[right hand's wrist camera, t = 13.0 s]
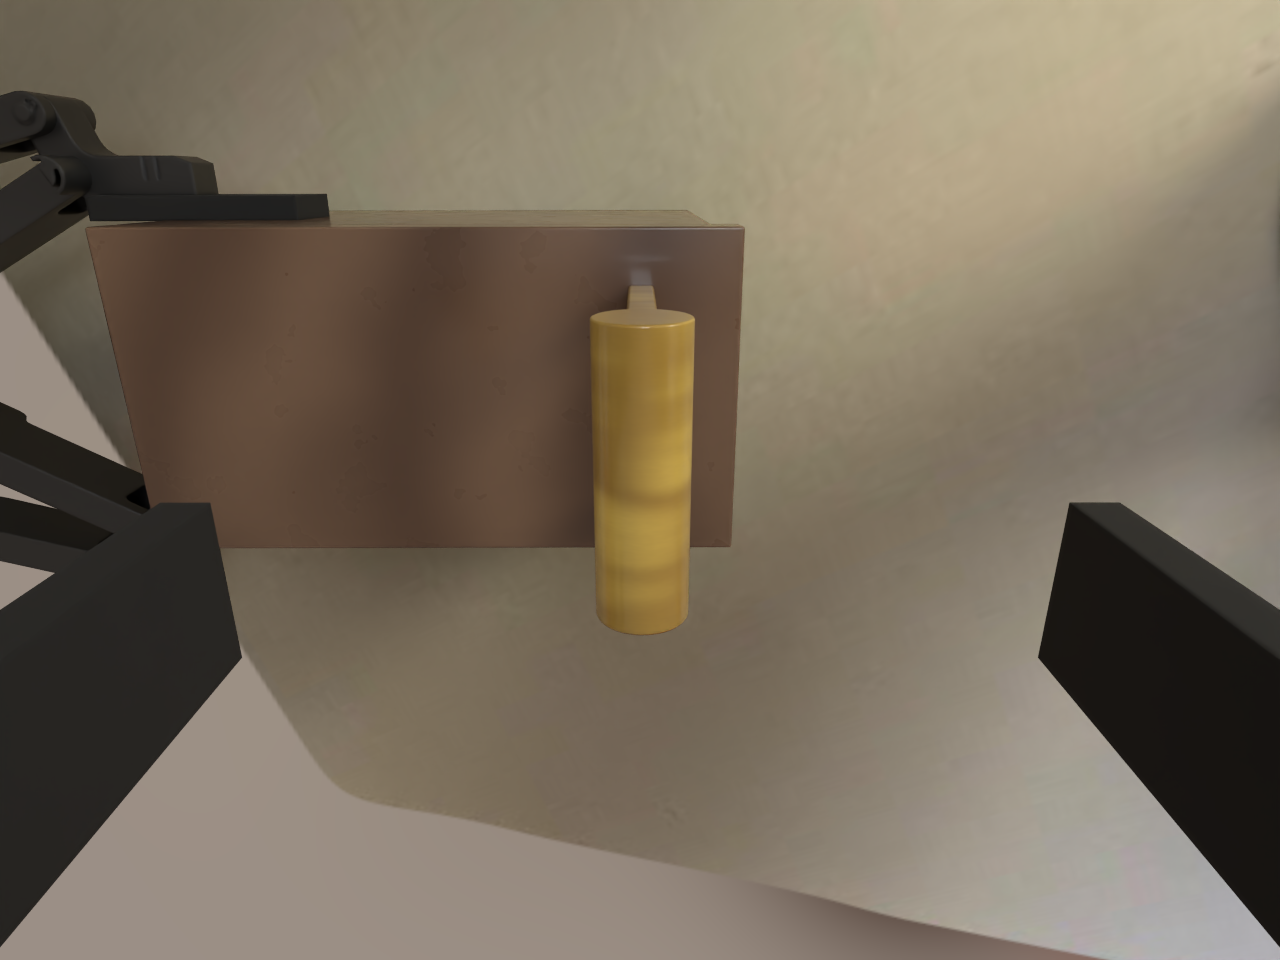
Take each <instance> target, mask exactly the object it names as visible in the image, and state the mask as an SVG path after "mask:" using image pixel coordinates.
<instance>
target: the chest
mask: <svg viewBox="0 0 1280 960" xmlns="http://www.w3.org/2000/svg"><path fill="white" fill-rule="evenodd" d="M329 215H330V217H322V218H313V219H305V220H167V221H155V222H143V223H131V224H120V225H580V224H709V223H707V222H706V221H704V220H703V219H701V218H699V217H698V216H696V215H694V214H693V213H691V212H689V211H687V210H487V211H329Z"/></svg>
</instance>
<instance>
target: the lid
mask: <svg viewBox="0 0 1280 960" xmlns="http://www.w3.org/2000/svg"><path fill="white" fill-rule="evenodd" d="M86 234H87V239H88V243H89V247H90V252H91V256H92V260H93V264H94V269H95V273H96V277H97V281H98V286H99V290H100V294H101V298H102V303H103V307H104V311H105V316H106V320H107V324H108V328H109V333H110V337H111V341H112V345H113V350H114V354H115V358H116V363H117V367H118V371H119V375H120V380H121V384H122V388H123V392H124V397H125V401H126V405H127V409H128V414H129V418H130V422H131V427H132V431H133V435H134V439H135V444H136V448H137V452H138V456H139V461H140V465H141V469H142V473H143V478H144V482H145V486H146V491H147V495H148V499H149V503H150V508H153V507H154V506H156V505H157V504H159V503H211V508H212V513H213V518H214V523H215V528H216V533H217V538H218V543H219V547H220V548H469V547H595V574H596V613H597V616H598V618H599V619H600V621H601V622H602V623H603V624H604V625H605V626H607V627H609V628H611V629H613V630H615V631H618V632H622V633H626V634H632V635H652V634H659V633H663V632H667V631H669V630H672V629H674V628H676V627H678V626H679V625H680V624H682V623H683V622H684V620H685V619H686V617H687V615H688V600H689V557H690V547H730V546H731V538H732V514H733V491H734V468H735V445H736V421H737V398H738V375H739V352H740V328H741V305H742V282H743V259H744V235H745V228H744V227H743V226H740V225H738V224H580V225H108V226H96V227H87V228H86Z"/></svg>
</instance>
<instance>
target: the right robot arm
mask: <svg viewBox="0 0 1280 960" xmlns="http://www.w3.org/2000/svg"><path fill="white" fill-rule="evenodd" d="M241 658H242V655H241V650H240V646H239V641H238V636H237V631H236V626H235V621H234V616H233V611H232V606H231V601H230V596H229V592H228V587H227V582H226V577H225V572H224V567H223V562H222V557H221V552H220V547H219V543H218V538H217V533H216V528H215V523H214V518H213V513H212V508H211V503H159V504H157V505H156V506H154V507H153V508H151V509H150V510H148V511H147V512H145V513H144V514H142V515H141V516H140V517H138V518H137V519H135V520H134V521H132V522H131V523H129V524H128V525H126V526H125V527H123V528H122V529H120V530H119V531H117V532H116V533H114V534H113V535H111V536H110V537H108V538H107V539H105V540H104V541H102V542H101V543H99V544H98V545H96V546H95V547H93V548H92V549H90V550H89V551H87V552H86V553H84V554H83V555H81V556H80V557H78V558H77V559H75V560H74V561H72V562H71V563H69V564H68V565H66V566H65V567H64V568H62V569H61V570H59V571H58V572H56V573H55V574H53V575H52V576H50V577H49V578H47V579H46V580H44V581H43V582H41V583H40V584H38V585H37V586H35V587H34V588H32V589H31V590H29V591H28V592H26V593H25V594H23V595H22V596H20V597H19V598H17V599H16V600H14V601H13V602H11V603H10V604H8V605H7V606H5V607H4V608H2V609H1V610H0V947H1V946H2V944H3V943H4V942H5V941H6V940H7V938H8V937H9V936H10V935H11V934H12V932H13V931H14V930H15V929H16V928H17V926H18V925H19V924H20V923H21V922H22V920H23V919H24V918H25V917H26V916H27V914H28V913H29V912H30V911H31V910H32V908H33V907H34V906H35V905H36V904H37V902H38V901H39V900H40V899H41V898H42V896H43V895H44V894H45V893H46V892H47V890H48V889H49V888H50V887H51V886H52V885H53V883H54V882H55V881H56V880H57V878H58V877H59V876H60V875H61V874H62V872H63V871H64V870H65V869H66V868H67V866H68V865H69V864H70V863H71V862H72V861H73V859H74V858H75V857H76V856H77V855H78V853H79V852H80V851H81V850H82V849H83V847H84V846H85V845H86V844H87V843H88V841H89V840H90V839H91V838H92V837H93V835H94V834H95V833H96V832H97V831H98V829H99V828H100V827H101V826H102V825H103V823H104V822H105V821H106V820H107V819H108V817H109V816H110V815H111V814H112V813H113V811H114V810H115V809H116V808H117V807H118V805H119V804H120V803H121V802H122V801H123V799H124V798H125V797H126V796H127V795H128V793H129V792H130V791H131V790H132V789H133V787H134V786H135V785H136V784H137V783H138V781H139V780H140V779H141V778H142V777H143V775H144V774H145V773H146V772H147V771H148V769H149V768H150V767H151V766H152V765H153V763H154V762H155V761H156V760H157V759H158V757H159V756H160V755H161V754H162V753H163V751H164V750H165V749H166V748H167V747H168V746H169V744H170V743H171V742H172V741H173V740H174V738H175V737H176V736H177V735H178V734H179V732H180V731H181V730H182V729H183V728H184V726H185V725H186V724H187V723H188V722H189V720H190V719H191V718H192V717H193V715H194V714H195V713H196V712H197V711H198V710H199V708H200V707H201V706H202V705H203V703H204V702H205V701H206V700H207V699H208V698H209V696H210V695H211V694H212V693H213V692H214V690H215V689H216V688H217V687H218V686H219V684H220V683H221V682H222V681H223V680H224V678H225V677H226V676H227V675H228V674H229V672H230V671H231V670H232V669H233V668H234V666H235V665H236V664H237V663H238V662H239V660H240V659H241ZM1038 658H1039V659H1040V660H1041V662H1042V663H1043V664H1044V665H1045V666H1046V668H1047V669H1048V670H1049V671H1050V672H1051V674H1052V675H1053V676H1054V677H1055V678H1056V680H1057V681H1058V682H1059V683H1060V684H1061V686H1062V687H1063V688H1064V689H1065V690H1066V692H1067V693H1068V694H1069V695H1070V696H1071V698H1072V699H1073V700H1074V701H1075V702H1076V704H1077V705H1078V706H1079V707H1080V708H1081V710H1082V711H1083V712H1084V713H1085V714H1086V716H1087V717H1088V718H1089V719H1090V720H1091V722H1092V723H1093V724H1094V725H1095V726H1096V728H1097V729H1098V730H1099V731H1100V732H1101V734H1102V735H1103V736H1104V737H1105V738H1106V740H1107V741H1108V742H1109V743H1110V744H1111V746H1112V747H1113V748H1114V749H1115V750H1116V752H1117V753H1118V754H1119V755H1120V756H1121V758H1122V759H1123V760H1124V761H1125V762H1126V763H1127V765H1128V766H1129V767H1130V768H1131V769H1132V771H1133V772H1134V773H1135V774H1136V775H1137V777H1138V778H1139V779H1140V780H1141V781H1142V783H1143V784H1144V785H1145V786H1146V787H1147V789H1148V790H1149V791H1150V792H1151V793H1152V795H1153V796H1154V797H1155V798H1156V799H1157V801H1158V802H1159V803H1160V804H1161V805H1162V807H1163V808H1164V809H1165V810H1166V811H1167V813H1168V814H1169V815H1170V816H1171V817H1172V819H1173V820H1174V821H1175V822H1176V823H1177V825H1178V826H1179V827H1180V828H1181V829H1182V831H1183V832H1184V833H1185V834H1186V835H1187V837H1188V838H1189V839H1190V840H1191V841H1192V843H1193V844H1194V845H1195V846H1196V847H1197V849H1198V850H1199V851H1200V852H1201V853H1202V855H1203V856H1204V857H1205V858H1206V859H1207V861H1208V862H1209V863H1210V864H1211V865H1212V867H1213V868H1214V869H1215V870H1216V871H1217V873H1218V874H1219V875H1220V876H1221V877H1222V879H1223V880H1224V881H1225V882H1226V883H1227V885H1228V886H1229V887H1230V888H1231V889H1232V890H1233V892H1234V893H1235V894H1236V895H1237V896H1238V898H1239V899H1240V900H1241V901H1242V902H1243V904H1244V905H1245V906H1246V907H1247V908H1248V910H1249V911H1250V912H1251V913H1252V914H1253V916H1254V917H1255V918H1256V919H1257V920H1258V922H1259V923H1260V924H1261V925H1262V926H1263V928H1264V929H1265V930H1266V931H1267V932H1268V934H1269V935H1270V936H1271V937H1272V938H1273V940H1274V941H1275V942H1276V943H1277V944H1278V946H1279V947H1280V610H1279V609H1278V608H1276V607H1275V606H1273V605H1272V604H1270V603H1269V602H1267V601H1266V600H1264V599H1263V598H1261V597H1260V596H1258V595H1257V594H1255V593H1254V592H1252V591H1251V590H1249V589H1248V588H1246V587H1245V586H1243V585H1242V584H1240V583H1239V582H1237V581H1236V580H1234V579H1233V578H1231V577H1230V576H1228V575H1227V574H1225V573H1224V572H1222V571H1221V570H1219V569H1218V568H1216V567H1215V566H1214V565H1212V564H1211V563H1209V562H1208V561H1206V560H1205V559H1203V558H1202V557H1200V556H1199V555H1197V554H1196V553H1194V552H1193V551H1191V550H1190V549H1188V548H1187V547H1185V546H1184V545H1182V544H1181V543H1179V542H1178V541H1176V540H1175V539H1173V538H1172V537H1170V536H1169V535H1167V534H1166V533H1164V532H1163V531H1161V530H1160V529H1158V528H1157V527H1155V526H1154V525H1152V524H1151V523H1149V522H1148V521H1146V520H1145V519H1143V518H1142V517H1140V516H1139V515H1138V514H1136V513H1135V512H1133V511H1132V510H1130V509H1129V508H1127V507H1126V506H1124V505H1123V504H1121V503H1069V508H1068V513H1067V518H1066V523H1065V528H1064V533H1063V538H1062V543H1061V547H1060V552H1059V557H1058V562H1057V567H1056V572H1055V577H1054V582H1053V587H1052V592H1051V596H1050V601H1049V606H1048V611H1047V616H1046V621H1045V626H1044V631H1043V636H1042V641H1041V646H1040V650H1039V655H1038Z"/></svg>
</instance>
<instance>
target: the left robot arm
mask: <svg viewBox="0 0 1280 960" xmlns="http://www.w3.org/2000/svg"><path fill="white" fill-rule="evenodd" d="M95 128H96V119H95V115H94V113H93V111H92V110H91V108H90V107H89V106H88V105H87V104H86V103H84V102H83V101H81V100H78V99H75V98H68V97H61V96H54V95H47V94H40V93H34V92H27V91H14V92H11V93H8V94H4V95H1V96H0V164H1V163H4V162H7V161H11V160H14V159H17V158H21V157H24V156H27V155H31V154H34V153H37V152H38V153H39V155H35V156H32V157H30V158H31V159H32V160H33V161H41V163H39V164H38V165H36V166H35V167H33V168H32V169H31V170H29V171H28V172H26V173H25V174H23V175H22V176H20V177H19V178H17V179H16V180H14V181H13V182H11V183H10V184H8V185H7V186H5V187H4V188H2V189H1V190H0V272H2V271H4V270H5V269H7V268H8V267H10V266H11V265H13V264H14V263H16V262H17V261H19V260H20V259H22V258H23V257H25V256H27V255H28V254H30V253H31V252H33V251H34V250H36V249H37V248H39V247H40V246H42V245H43V244H45V243H46V242H48V241H50V240H51V239H53V238H54V237H56V236H57V235H59V234H60V233H62V232H63V231H65V230H66V229H68V228H69V227H71V226H73V225H74V224H76V223H77V222H79V221H80V220H82V219H83V218H85V217H86V216H88V215H89V218H90V221H167V220H305V219H313V218H322V217H330V215H329V208H328V200H327V194H218V188H217V183H216V177H215V171H214V166H213V163H211V162H208V161H206V160H203V159H201V158H198V157H187V156H118V155H115V154H113V153H112V152H110V151H109V150H108V149H106V148H105V147H104V146H103V144H102V143H101V141H100V140H99V138H98V136H97V134H96V133H95V131H94V130H95ZM0 484H2V485H4V486H6V487H8V488H11V489H13V490H15V491H17V492H20V493H22V494H24V495H27V496H29V497H31V498H34V499H36V500H38V501H40V502H43V503H45V504H47V505H50V506H52V507H54V508H50V507H46V506H41V505H37V504H33V503H28V502H24V501H19V500H15V499H10V498H5V497H0V561H3V562H8V563H12V564H17V565H21V566H26V567H31V568H35V569H40V570H44V571H49V572H54V573H56V572H58V571H59V570H61V569H62V568H64V567H65V566H66V565H68V564H69V563H71V562H72V561H74V560H75V559H77V558H78V557H80V556H81V555H83V554H84V553H86V552H87V551H89V550H90V549H92V548H93V547H95V546H96V545H98V544H99V543H101V542H102V541H104V540H105V539H107V538H108V537H110V536H111V535H113V534H114V533H116V532H117V531H119V530H120V529H122V528H123V527H125V526H126V525H128V524H129V523H131V522H132V521H134V520H135V519H137V518H138V517H140V516H141V515H142V514H144V513H145V512H147V511H148V510H150V509H151V508H150V503H149V499H148V495H147V491H146V486H145V482H144V478H143V474H140V473H138V472H136V471H134V470H132V469H129V468H127V467H125V466H123V465H120V464H118V463H116V462H114V461H112V460H109V459H107V458H105V457H103V456H101V455H98V454H96V453H94V452H92V451H89V450H87V449H85V448H83V447H81V446H78V445H76V444H74V443H72V442H70V441H67V440H65V439H63V438H61V437H58V436H56V435H54V434H52V433H50V432H47V431H45V430H43V429H41V428H38V427H36V426H34V425H32V424H30V423H28V422H27V421H26V415H25V414H24V413H22V412H21V411H19V410H16V409H14V408H12V407H10V406H8V405H5V404H3V403H1V402H0ZM55 508H56V509H55Z"/></svg>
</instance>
